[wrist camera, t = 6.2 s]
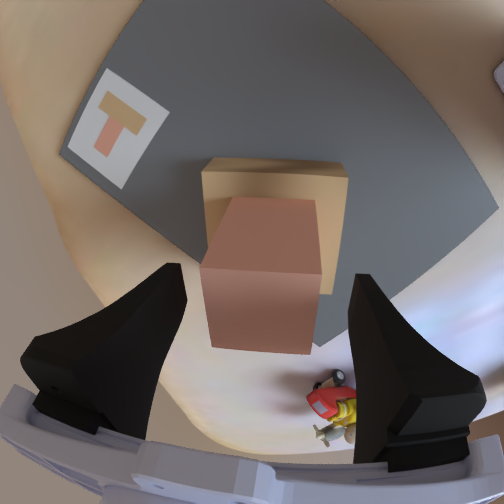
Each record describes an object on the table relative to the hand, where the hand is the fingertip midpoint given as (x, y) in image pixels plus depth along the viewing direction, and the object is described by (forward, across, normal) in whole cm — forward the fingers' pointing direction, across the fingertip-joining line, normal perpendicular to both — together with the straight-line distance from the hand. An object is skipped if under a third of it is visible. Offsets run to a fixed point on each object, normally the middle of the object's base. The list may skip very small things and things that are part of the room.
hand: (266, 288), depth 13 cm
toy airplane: (+8, -8, +18) cm, 22 cm away
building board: (+8, 0, -3) cm, 8 cm away
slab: (+7, 0, 0) cm, 7 cm away
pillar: (+4, 0, 0) cm, 4 cm away
